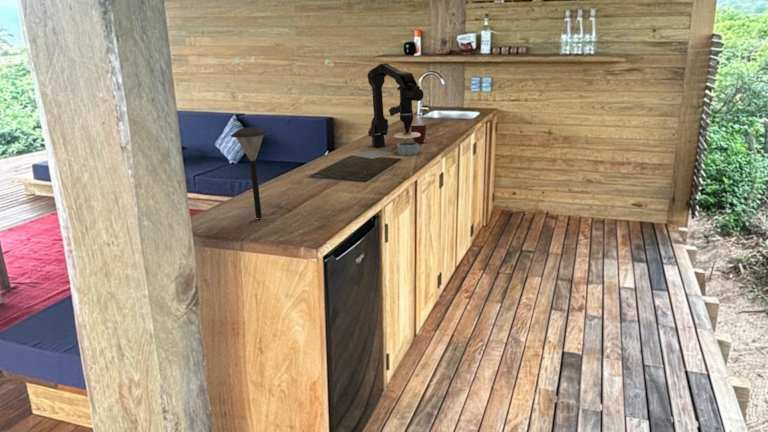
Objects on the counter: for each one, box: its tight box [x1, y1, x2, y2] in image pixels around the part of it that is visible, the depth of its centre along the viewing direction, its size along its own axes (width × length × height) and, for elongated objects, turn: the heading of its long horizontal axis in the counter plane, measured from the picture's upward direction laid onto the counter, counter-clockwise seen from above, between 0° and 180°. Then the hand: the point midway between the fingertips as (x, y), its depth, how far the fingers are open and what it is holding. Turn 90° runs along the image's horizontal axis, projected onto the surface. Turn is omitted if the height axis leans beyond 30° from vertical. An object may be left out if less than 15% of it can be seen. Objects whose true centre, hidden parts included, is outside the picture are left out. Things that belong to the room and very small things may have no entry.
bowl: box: [396, 141, 420, 156], centre depth 294 cm, size 10×10×5 cm
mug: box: [411, 123, 427, 145], centre depth 320 cm, size 11×8×10 cm
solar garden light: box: [230, 126, 270, 219], centre depth 194 cm, size 12×12×30 cm
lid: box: [393, 125, 421, 139], centre depth 292 cm, size 13×13×5 cm
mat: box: [352, 149, 397, 160], centre depth 296 cm, size 16×16×1 cm
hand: (407, 132), depth 292 cm, fingers closed on lid, 4 cm apart
